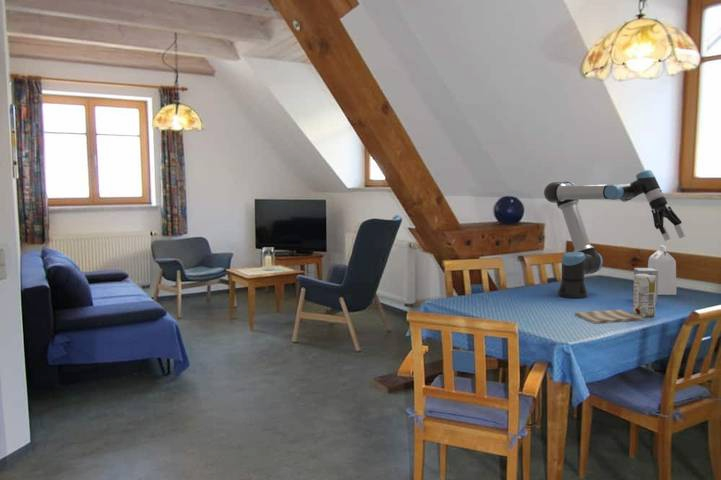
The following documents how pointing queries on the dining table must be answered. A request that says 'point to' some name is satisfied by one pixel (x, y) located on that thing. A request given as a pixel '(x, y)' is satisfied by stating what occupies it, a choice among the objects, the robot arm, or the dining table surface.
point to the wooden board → (609, 316)
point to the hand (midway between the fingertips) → (675, 238)
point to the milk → (664, 271)
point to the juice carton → (644, 295)
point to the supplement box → (650, 272)
